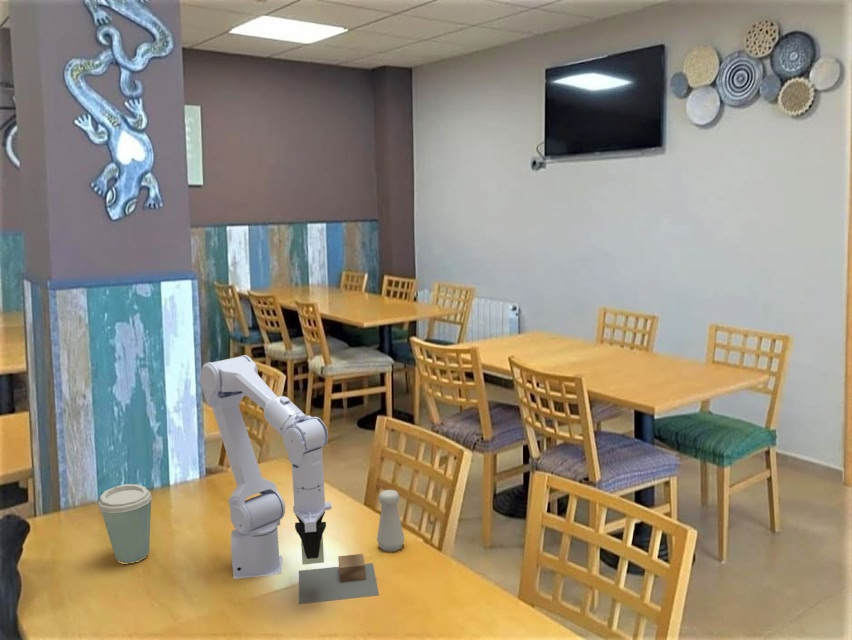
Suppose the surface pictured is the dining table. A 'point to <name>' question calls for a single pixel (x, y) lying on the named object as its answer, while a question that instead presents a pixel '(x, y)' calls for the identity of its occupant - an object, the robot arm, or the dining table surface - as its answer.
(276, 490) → the robot arm
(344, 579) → the walnut block
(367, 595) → the slate mat
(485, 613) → the dining table surface
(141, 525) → the disposable coffee cup
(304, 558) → the sage block
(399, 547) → the salt shaker
